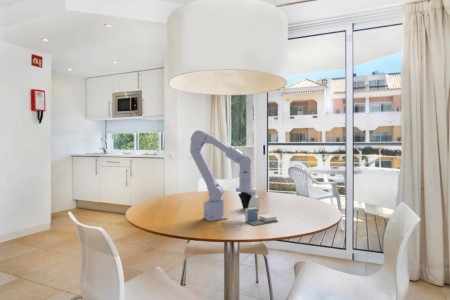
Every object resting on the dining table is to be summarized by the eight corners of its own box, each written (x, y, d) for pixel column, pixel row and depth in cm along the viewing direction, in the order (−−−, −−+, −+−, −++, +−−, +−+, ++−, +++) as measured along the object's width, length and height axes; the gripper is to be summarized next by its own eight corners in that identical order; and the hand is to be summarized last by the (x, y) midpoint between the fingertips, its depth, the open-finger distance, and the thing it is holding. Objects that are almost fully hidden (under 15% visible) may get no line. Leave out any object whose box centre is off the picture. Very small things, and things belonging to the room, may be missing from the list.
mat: (253, 225, 126) (253, 225, 126) (245, 222, 132) (245, 221, 132) (278, 221, 133) (278, 220, 133) (269, 218, 139) (269, 217, 139)
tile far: (258, 218, 137) (266, 221, 131) (258, 215, 137) (266, 218, 131) (268, 217, 139) (276, 220, 134) (268, 213, 139) (276, 216, 134)
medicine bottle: (243, 208, 162) (242, 187, 162) (254, 207, 164) (254, 186, 164) (247, 210, 155) (247, 188, 155) (259, 209, 158) (259, 188, 157)
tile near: (247, 222, 133) (247, 209, 132) (245, 221, 134) (245, 208, 134) (257, 220, 135) (257, 207, 135) (255, 219, 137) (255, 207, 137)
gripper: (260, 181, 135) (260, 210, 135) (244, 178, 147) (244, 204, 148) (248, 182, 131) (248, 211, 131) (232, 179, 144) (232, 206, 144)
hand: (245, 208), depth 139 cm, fingers closed
